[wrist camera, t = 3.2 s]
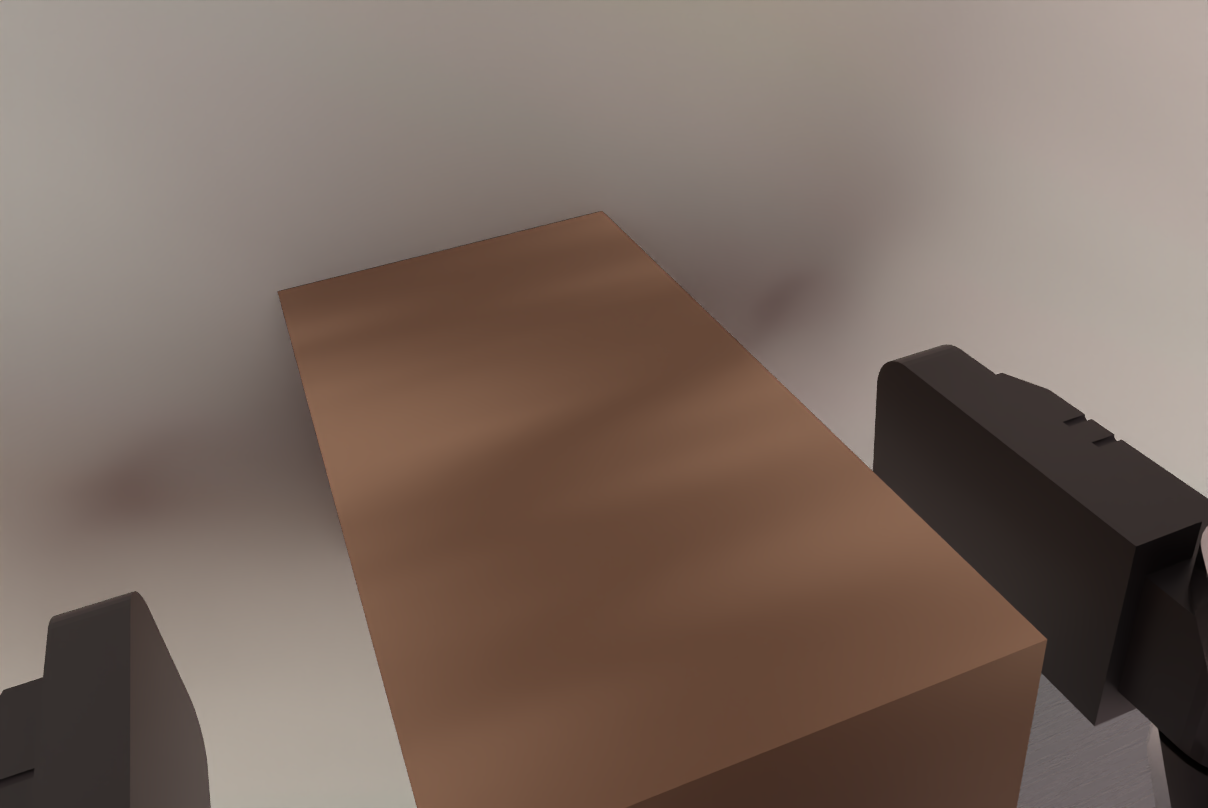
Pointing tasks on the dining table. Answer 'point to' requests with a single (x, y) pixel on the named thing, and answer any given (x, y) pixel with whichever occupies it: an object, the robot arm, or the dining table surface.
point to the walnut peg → (637, 551)
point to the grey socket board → (1084, 758)
